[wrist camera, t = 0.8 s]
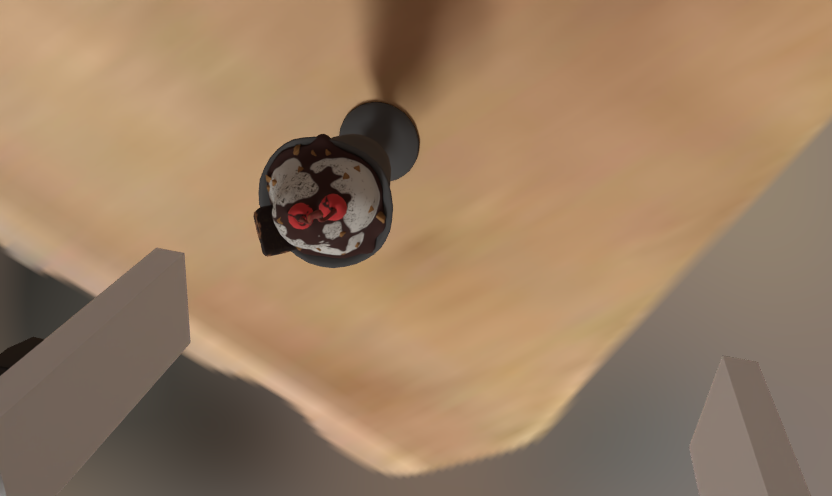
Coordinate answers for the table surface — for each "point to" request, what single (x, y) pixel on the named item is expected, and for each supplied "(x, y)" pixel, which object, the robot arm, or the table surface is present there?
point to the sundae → (336, 188)
